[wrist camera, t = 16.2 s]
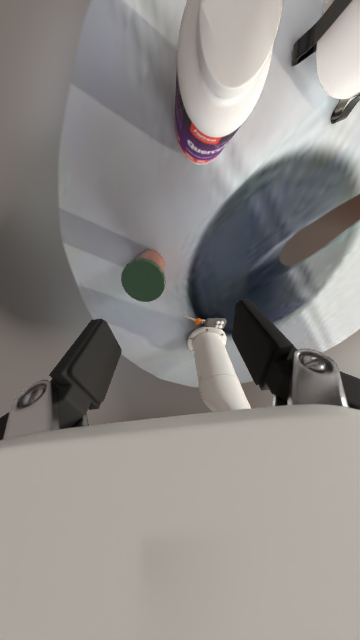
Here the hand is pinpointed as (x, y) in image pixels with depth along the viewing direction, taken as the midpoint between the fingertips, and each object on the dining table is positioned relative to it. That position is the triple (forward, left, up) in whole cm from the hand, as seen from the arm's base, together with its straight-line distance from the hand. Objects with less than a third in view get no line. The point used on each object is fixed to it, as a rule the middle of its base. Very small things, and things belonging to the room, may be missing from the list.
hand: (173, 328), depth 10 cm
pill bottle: (+16, -7, -26) cm, 32 cm away
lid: (-2, +5, -15) cm, 16 cm away
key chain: (-20, -6, -27) cm, 34 cm away
